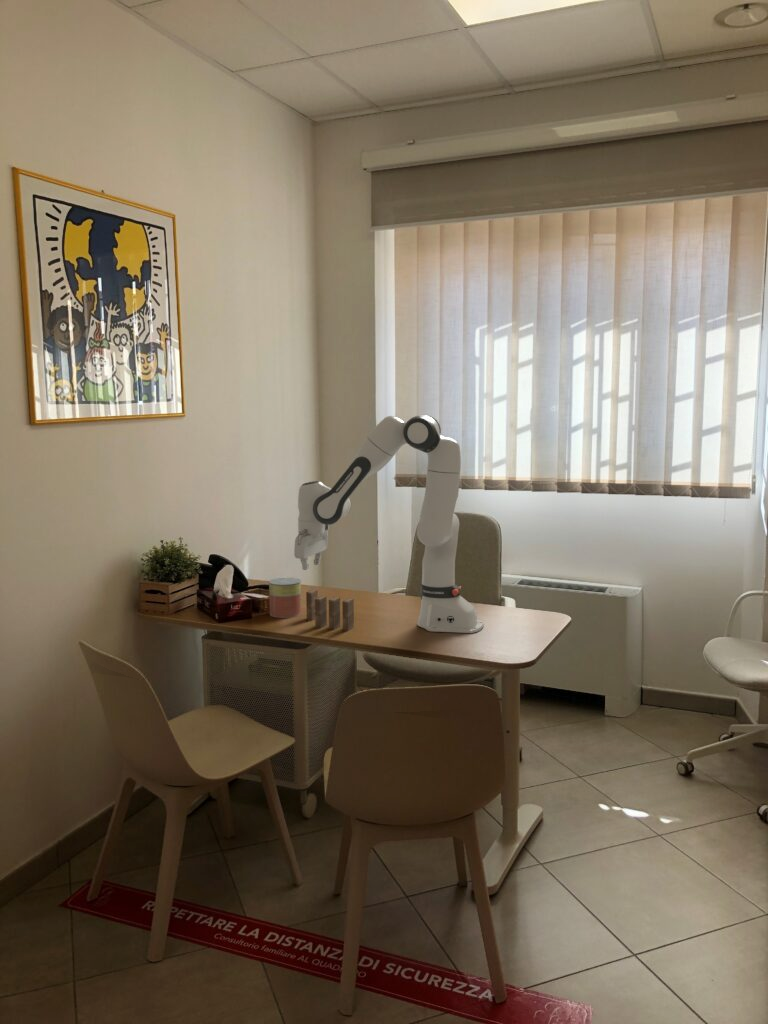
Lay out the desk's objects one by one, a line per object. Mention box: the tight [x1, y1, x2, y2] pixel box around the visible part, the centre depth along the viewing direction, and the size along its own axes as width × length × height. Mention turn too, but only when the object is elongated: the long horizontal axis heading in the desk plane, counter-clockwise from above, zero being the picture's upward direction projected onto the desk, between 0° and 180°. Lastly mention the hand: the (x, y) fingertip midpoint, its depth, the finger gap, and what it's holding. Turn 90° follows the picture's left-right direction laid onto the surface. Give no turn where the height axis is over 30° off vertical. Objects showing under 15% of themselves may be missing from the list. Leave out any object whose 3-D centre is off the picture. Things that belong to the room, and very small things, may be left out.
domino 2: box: [314, 595, 328, 629], centre depth 291 cm, size 2×5×10 cm, turn 160°
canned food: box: [268, 577, 302, 619], centre depth 308 cm, size 11×11×12 cm
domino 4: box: [341, 597, 355, 632], centre depth 288 cm, size 2×5×10 cm, turn 160°
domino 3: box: [328, 596, 341, 630], centre depth 290 cm, size 2×5×10 cm, turn 160°
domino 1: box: [305, 588, 319, 621], centre depth 301 cm, size 2×5×10 cm, turn 160°
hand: (311, 567), depth 299 cm, fingers open, 8 cm apart
